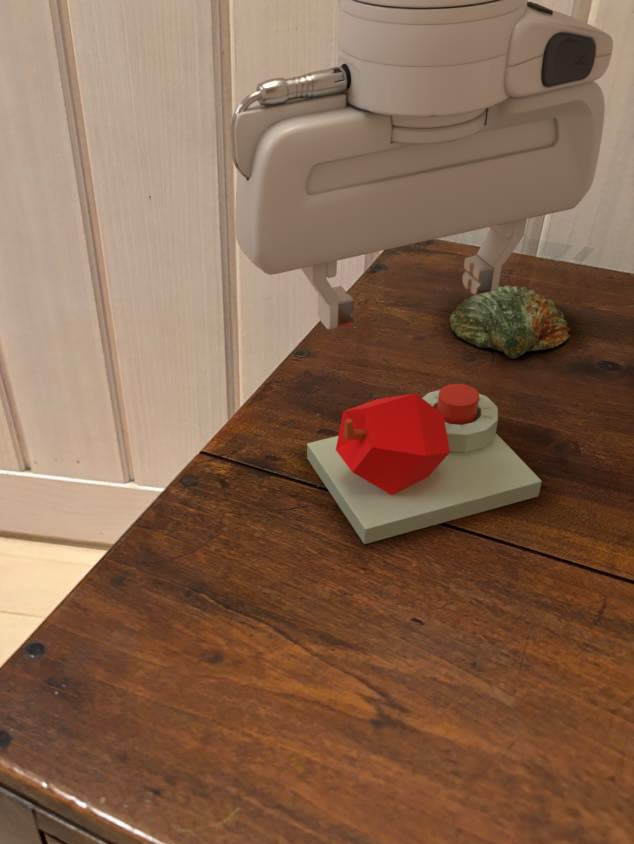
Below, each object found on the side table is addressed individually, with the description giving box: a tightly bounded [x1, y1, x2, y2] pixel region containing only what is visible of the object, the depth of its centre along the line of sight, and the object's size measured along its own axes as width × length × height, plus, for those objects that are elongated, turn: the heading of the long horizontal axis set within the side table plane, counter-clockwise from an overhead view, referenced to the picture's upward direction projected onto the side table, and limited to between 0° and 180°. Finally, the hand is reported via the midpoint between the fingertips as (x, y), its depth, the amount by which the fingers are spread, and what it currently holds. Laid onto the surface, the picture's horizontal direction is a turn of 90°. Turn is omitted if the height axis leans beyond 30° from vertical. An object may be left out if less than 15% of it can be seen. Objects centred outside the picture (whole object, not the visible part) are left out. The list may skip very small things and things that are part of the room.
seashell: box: [449, 285, 571, 360], centre depth 78 cm, size 10×4×10 cm
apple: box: [336, 393, 450, 495], centre depth 61 cm, size 7×7×8 cm
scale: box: [306, 389, 543, 545], centre depth 64 cm, size 13×10×3 cm
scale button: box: [437, 383, 480, 425], centre depth 65 cm, size 3×3×2 cm
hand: (408, 305), depth 55 cm, fingers open, 8 cm apart
